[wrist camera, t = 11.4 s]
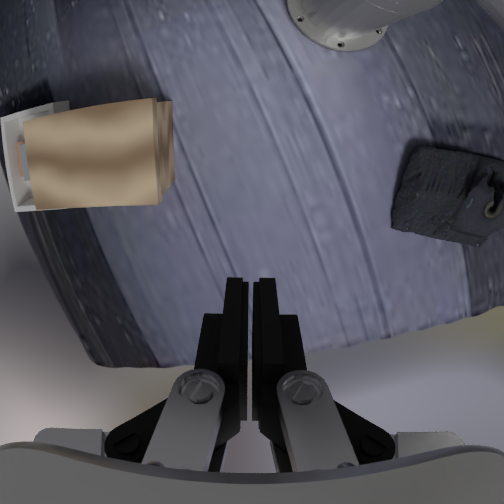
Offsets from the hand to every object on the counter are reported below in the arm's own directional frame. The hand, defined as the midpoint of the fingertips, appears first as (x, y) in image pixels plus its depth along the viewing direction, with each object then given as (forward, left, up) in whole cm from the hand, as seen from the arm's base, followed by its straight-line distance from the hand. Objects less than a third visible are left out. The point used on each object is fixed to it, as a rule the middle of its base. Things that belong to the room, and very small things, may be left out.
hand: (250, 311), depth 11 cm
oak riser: (-2, -18, -29) cm, 34 cm away
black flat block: (+3, +30, -30) cm, 43 cm away
